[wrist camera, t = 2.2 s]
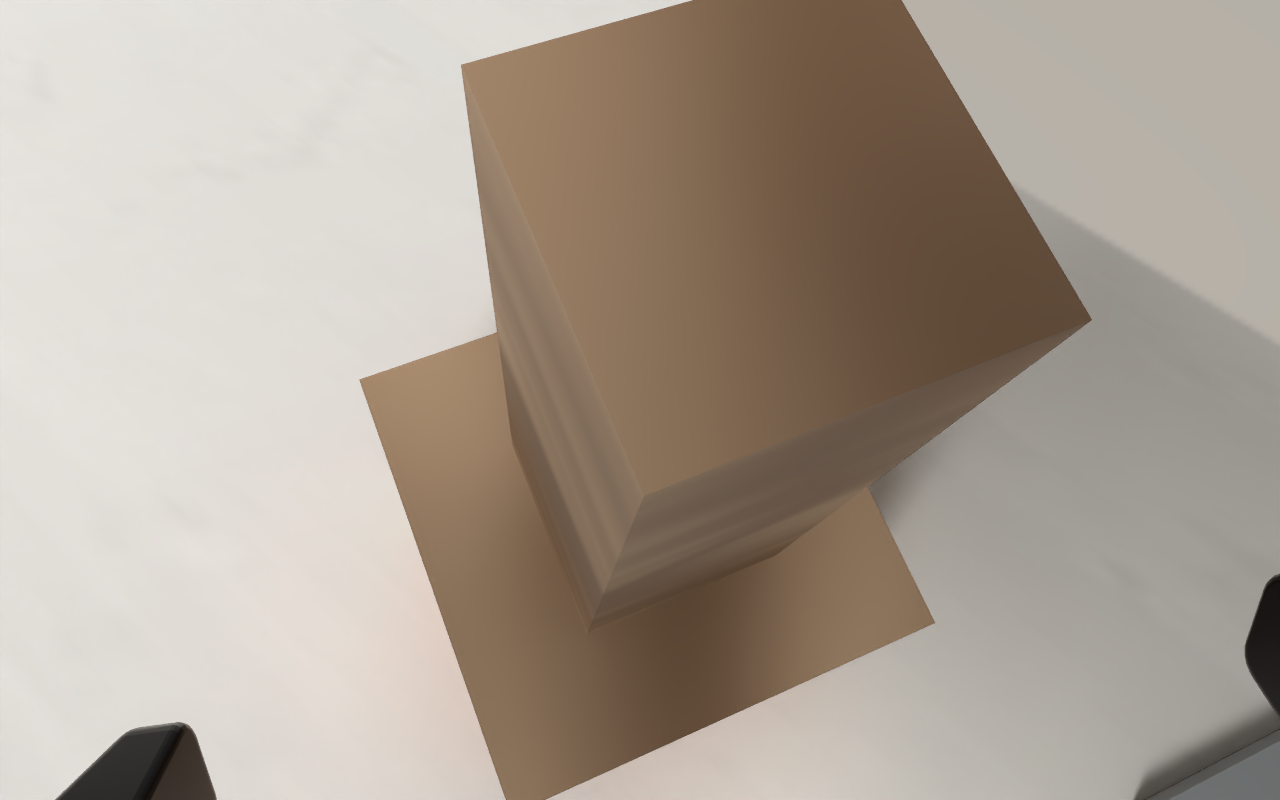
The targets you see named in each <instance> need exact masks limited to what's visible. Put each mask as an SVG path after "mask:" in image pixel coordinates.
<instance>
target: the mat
mask: <svg viewBox="0 0 1280 800" xmlns="http://www.w3.org/2000/svg"><path fill="white" fill-rule="evenodd" d="M1146 800H1280V729H1279V730H1277V731H1275V732H1273V733H1272V734H1270V735H1268V736H1266V737H1264V738H1262V739H1260V740H1258V741H1256V742H1254V743H1253V744H1251V745H1249V746H1247V747H1245V748H1243V749H1241V750H1239V751H1237V752H1235V753H1234V754H1232V755H1230V756H1228V757H1226V758H1224V759H1222V760H1220V761H1218V762H1216V763H1215V764H1213V765H1211V766H1209V767H1207V768H1205V769H1203V770H1201V771H1199V772H1197V773H1196V774H1194V775H1192V776H1190V777H1188V778H1186V779H1184V780H1182V781H1180V782H1178V783H1177V784H1175V785H1173V786H1171V787H1169V788H1167V789H1165V790H1163V791H1161V792H1159V793H1158V794H1156V795H1154V796H1152V797H1150V798H1148V799H1146Z"/></svg>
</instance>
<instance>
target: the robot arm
mask: <svg viewBox="0 0 1280 800" xmlns="http://www.w3.org/2000/svg"><path fill="white" fill-rule="evenodd" d="M1245 659H1246V664H1247V666H1248V669H1249V671H1250V673H1251V675H1252V677H1253V679H1254V680H1255V682H1256V683H1257V685H1258V686H1259V688H1260V689H1261V691H1262V692H1263V694H1264V695H1265V697H1266V699H1267V700H1268V702H1269V703H1270V705H1271V706H1272V708H1273V709H1274V711H1275V712H1276V714H1277V715H1278V717H1279V719H1280V574H1278V575H1275V576H1273V577H1272V578H1271V579H1270V580H1269V581H1268V582H1267V584H1266V586H1265V588H1264V590H1263V593H1262V596H1261V599H1260V602H1259V605H1258V608H1257V611H1256V613H1255V616H1254V619H1253V622H1252V625H1251V628H1250V631H1249V634H1248V637H1247V640H1246V644H1245ZM55 800H217V798H216V794H215V791H214V788H213V785H212V782H211V779H210V776H209V773H208V770H207V767H206V764H205V761H204V758H203V755H202V752H201V749H200V746H199V743H198V740H197V737H196V735H195V733H194V731H193V730H192V728H191V727H190V726H189V725H187V724H185V723H181V722H176V723H169V724H161V725H154V726H147V727H139V728H135V729H132V730H130V731H128V732H126V733H125V734H124V735H122V736H121V737H120V738H119V739H118V740H117V741H116V742H115V743H114V744H112V745H111V746H110V747H109V748H108V749H107V750H106V751H105V752H104V753H103V754H102V755H101V756H100V757H99V758H98V759H97V760H96V761H95V762H94V763H93V764H92V765H91V766H90V767H89V768H88V769H87V770H86V771H84V772H83V773H82V774H81V775H80V776H79V777H78V778H77V779H76V780H75V781H74V782H73V783H72V784H71V785H70V786H69V787H68V788H67V789H66V790H65V791H64V792H63V793H62V794H61V795H60V796H59V797H58V798H56V799H55Z"/></svg>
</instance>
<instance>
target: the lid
mask: <svg viewBox="0 0 1280 800" xmlns="http://www.w3.org/2000/svg"><path fill="white" fill-rule="evenodd" d="M461 68H462V75H463V83H464V90H465V98H466V105H467V112H468V120H469V127H470V135H471V142H472V149H473V157H474V164H475V172H476V179H477V186H478V194H479V201H480V209H481V216H482V224H483V231H484V238H485V246H486V253H487V261H488V268H489V275H490V283H491V290H492V298H493V305H494V312H495V320H496V327H497V333H494V334H492V335H489V336H486V337H483V338H480V339H477V340H474V341H471V342H468V343H465V344H462V345H459V346H456V347H454V348H451V349H448V350H445V351H442V352H439V353H436V354H433V355H430V356H427V357H424V358H421V359H418V360H416V361H413V362H410V363H407V364H404V365H401V366H398V367H395V368H392V369H389V370H386V371H383V372H380V373H378V374H375V375H372V376H369V377H366V378H363V379H360V383H361V386H362V389H363V392H364V394H365V397H366V400H367V403H368V406H369V409H370V412H371V415H372V417H373V420H374V423H375V426H376V429H377V432H378V435H379V437H380V440H381V443H382V446H383V449H384V452H385V455H386V457H387V460H388V463H389V466H390V469H391V472H392V475H393V478H394V480H395V483H396V486H397V489H398V492H399V495H400V498H401V500H402V503H403V506H404V509H405V512H406V515H407V518H408V521H409V523H410V526H411V529H412V532H413V535H414V538H415V541H416V543H417V546H418V549H419V552H420V555H421V558H422V561H423V564H424V566H425V569H426V572H427V575H428V578H429V581H430V584H431V586H432V589H433V592H434V595H435V598H436V601H437V604H438V606H439V609H440V612H441V615H442V618H443V621H444V624H445V627H446V629H447V632H448V635H449V638H450V641H451V644H452V647H453V649H454V652H455V655H456V658H457V661H458V664H459V667H460V670H461V672H462V675H463V678H464V681H465V684H466V687H467V690H468V692H469V695H470V698H471V701H472V704H473V707H474V710H475V713H476V715H477V718H478V721H479V724H480V727H481V730H482V733H483V735H484V738H485V741H486V744H487V747H488V750H489V753H490V756H491V758H492V761H493V764H494V767H495V770H496V773H497V776H498V778H499V781H500V784H501V787H502V790H503V793H504V796H505V798H506V800H546V799H548V798H550V797H552V796H554V795H557V794H559V793H561V792H563V791H565V790H568V789H570V788H572V787H574V786H576V785H579V784H581V783H583V782H585V781H587V780H590V779H592V778H594V777H596V776H598V775H601V774H603V773H605V772H607V771H609V770H612V769H614V768H616V767H618V766H620V765H623V764H625V763H627V762H629V761H632V760H634V759H636V758H638V757H640V756H643V755H645V754H647V753H649V752H651V751H654V750H656V749H658V748H660V747H662V746H665V745H667V744H669V743H671V742H673V741H676V740H678V739H680V738H682V737H684V736H687V735H689V734H691V733H693V732H695V731H698V730H700V729H702V728H704V727H706V726H709V725H711V724H713V723H715V722H717V721H720V720H722V719H724V718H726V717H728V716H731V715H733V714H735V713H737V712H740V711H742V710H744V709H746V708H748V707H751V706H753V705H755V704H757V703H759V702H762V701H764V700H766V699H768V698H770V697H773V696H775V695H777V694H779V693H781V692H784V691H786V690H788V689H790V688H792V687H795V686H797V685H799V684H801V683H803V682H806V681H808V680H810V679H812V678H814V677H817V676H819V675H821V674H823V673H825V672H828V671H830V670H832V669H834V668H837V667H839V666H841V665H843V664H845V663H848V662H850V661H852V660H854V659H856V658H859V657H861V656H863V655H865V654H867V653H870V652H872V651H874V650H876V649H878V648H881V647H883V646H885V645H887V644H889V643H892V642H894V641H896V640H898V639H900V638H903V637H905V636H907V635H909V634H911V633H914V632H916V631H918V630H920V629H922V628H925V627H927V626H929V625H931V624H933V623H935V622H934V620H933V618H932V616H931V614H930V612H929V610H928V608H927V606H926V604H925V602H924V600H923V598H922V596H921V593H920V591H919V589H918V587H917V585H916V583H915V581H914V579H913V577H912V575H911V573H910V571H909V569H908V567H907V565H906V563H905V561H904V559H903V557H902V555H901V553H900V551H899V549H898V547H897V545H896V543H895V541H894V539H893V537H892V535H891V533H890V531H889V529H888V527H887V525H886V523H885V521H884V519H883V517H882V515H881V513H880V511H879V509H878V507H877V505H876V503H875V501H874V499H873V497H872V495H871V493H870V491H869V489H868V486H869V485H871V484H872V483H873V482H875V481H876V480H877V479H879V478H880V477H881V476H883V475H884V474H886V473H887V472H888V471H890V470H891V469H892V468H894V467H895V466H896V465H898V464H899V463H900V462H902V461H903V460H904V459H906V458H907V457H908V456H910V455H911V454H912V453H914V452H915V451H916V450H918V449H919V448H920V447H922V446H923V445H924V444H926V443H927V442H929V441H930V440H931V439H933V438H934V437H935V436H937V435H938V434H939V433H941V432H942V431H943V430H945V429H946V428H947V427H949V426H950V425H951V424H953V423H954V422H955V421H957V420H958V419H959V418H961V417H962V416H963V415H965V414H966V413H967V412H969V411H970V410H971V409H973V408H974V407H976V406H977V405H978V404H980V403H981V402H982V401H984V400H985V399H986V398H988V397H989V396H990V395H992V394H993V393H994V392H996V391H997V390H998V389H1000V388H1001V387H1002V386H1004V385H1005V384H1006V383H1008V382H1009V381H1010V380H1012V379H1013V378H1014V377H1016V376H1017V375H1019V374H1020V373H1021V372H1023V371H1024V370H1025V369H1027V368H1028V367H1029V366H1031V365H1032V364H1033V363H1035V362H1036V361H1037V360H1039V359H1040V358H1041V357H1043V356H1044V355H1045V354H1047V353H1048V352H1049V351H1051V350H1052V349H1053V348H1055V347H1056V346H1057V345H1059V344H1060V343H1062V342H1063V341H1064V340H1066V339H1067V338H1068V337H1070V336H1071V335H1072V334H1074V333H1075V332H1076V331H1078V330H1079V329H1080V328H1082V327H1083V326H1084V325H1086V324H1087V323H1088V322H1090V321H1091V320H1092V319H1091V317H1090V316H1089V314H1088V312H1087V311H1086V309H1085V307H1084V306H1083V304H1082V302H1081V301H1080V299H1079V297H1078V296H1077V294H1076V292H1075V291H1074V289H1073V287H1072V286H1071V284H1070V282H1069V281H1068V279H1067V277H1066V275H1065V274H1064V272H1063V270H1062V269H1061V267H1060V265H1059V264H1058V262H1057V260H1056V259H1055V257H1054V255H1053V254H1052V252H1051V250H1050V249H1049V247H1048V245H1047V244H1046V242H1045V240H1044V239H1043V237H1042V235H1041V234H1040V232H1039V230H1038V229H1037V227H1036V225H1035V224H1034V222H1033V220H1032V218H1031V217H1030V215H1029V213H1028V212H1027V210H1026V208H1025V207H1024V205H1023V203H1022V202H1021V200H1020V198H1019V197H1018V195H1017V193H1016V192H1015V190H1014V188H1013V187H1012V185H1011V183H1010V182H1009V180H1008V178H1007V177H1006V175H1005V173H1004V172H1003V170H1002V168H1001V166H1000V165H999V163H998V162H997V160H996V158H995V156H994V155H993V153H992V151H991V150H990V148H989V146H988V145H987V143H986V141H985V140H984V138H983V136H982V135H981V133H980V131H979V130H978V128H977V126H976V125H975V123H974V121H973V120H972V118H971V116H970V115H969V113H968V111H967V109H966V108H965V106H964V104H963V103H962V101H961V99H960V98H959V96H958V95H957V93H956V91H955V89H954V88H953V86H952V84H951V83H950V81H949V79H948V78H947V76H946V74H945V73H944V71H943V69H942V68H941V66H940V64H939V63H938V61H937V59H936V58H935V56H934V54H933V53H932V51H931V49H930V48H929V46H928V44H927V42H926V41H925V39H924V37H923V36H922V34H921V33H920V31H919V29H918V27H917V26H916V24H915V22H914V21H913V19H912V17H911V16H910V14H909V12H908V11H907V9H906V7H905V6H904V4H903V2H902V1H901V0H692V1H689V2H685V3H682V4H678V5H674V6H671V7H667V8H664V9H660V10H657V11H653V12H649V13H646V14H642V15H639V16H635V17H631V18H628V19H624V20H621V21H617V22H613V23H610V24H606V25H603V26H599V27H596V28H592V29H588V30H585V31H581V32H578V33H574V34H570V35H567V36H563V37H560V38H556V39H552V40H549V41H545V42H542V43H538V44H535V45H531V46H527V47H524V48H520V49H517V50H513V51H509V52H506V53H502V54H499V55H495V56H491V57H488V58H484V59H481V60H477V61H473V62H470V63H466V64H463V65H461Z"/></svg>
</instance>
